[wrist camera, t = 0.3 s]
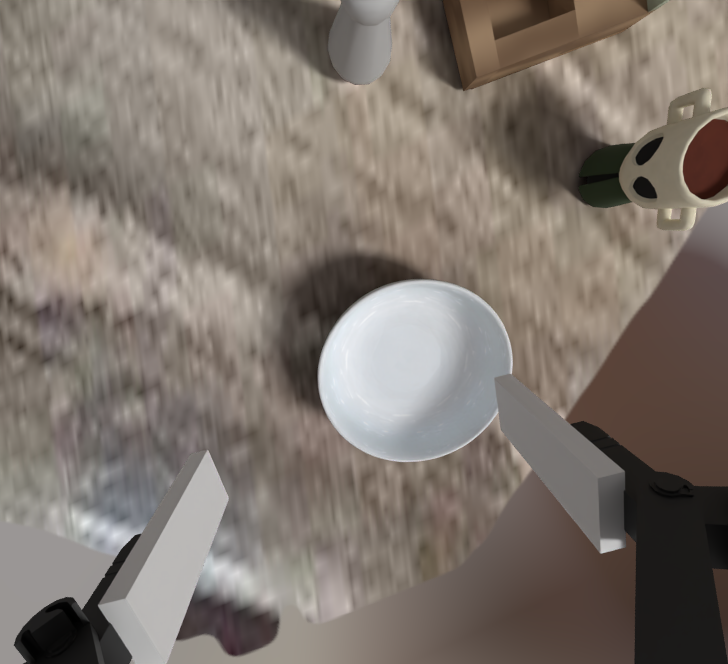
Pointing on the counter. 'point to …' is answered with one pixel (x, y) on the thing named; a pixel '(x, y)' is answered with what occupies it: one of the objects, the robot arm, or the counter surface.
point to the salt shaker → (361, 39)
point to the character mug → (666, 165)
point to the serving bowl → (413, 369)
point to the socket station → (531, 31)
